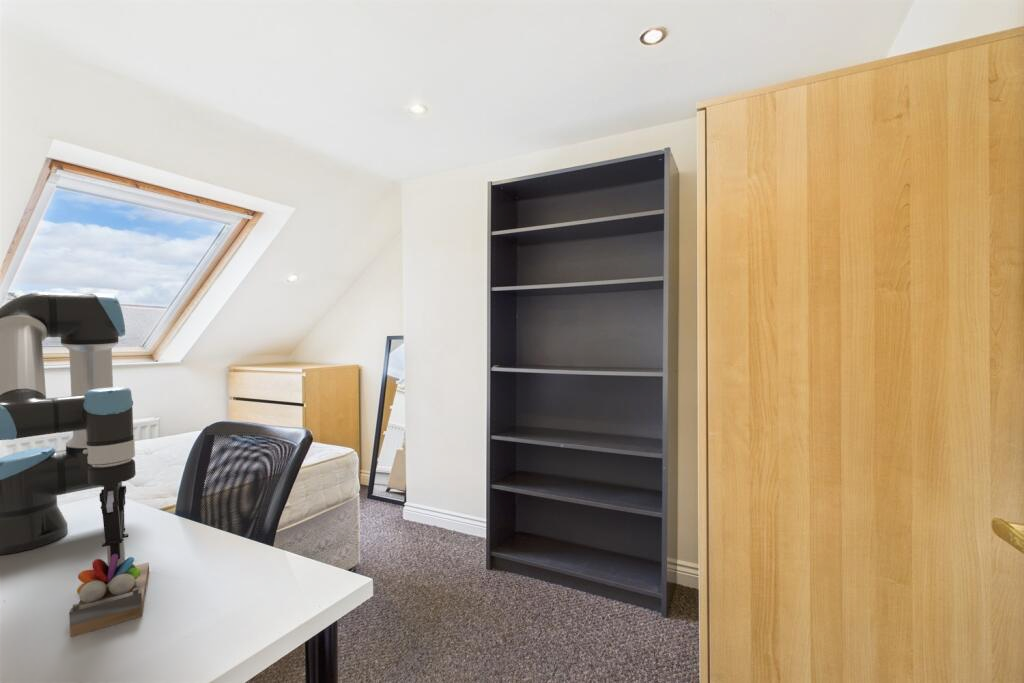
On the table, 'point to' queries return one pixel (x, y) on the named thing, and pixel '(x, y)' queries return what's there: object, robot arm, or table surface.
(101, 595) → the rainbow wooden ball puzzle
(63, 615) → the table surface
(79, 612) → the wooden display stand
